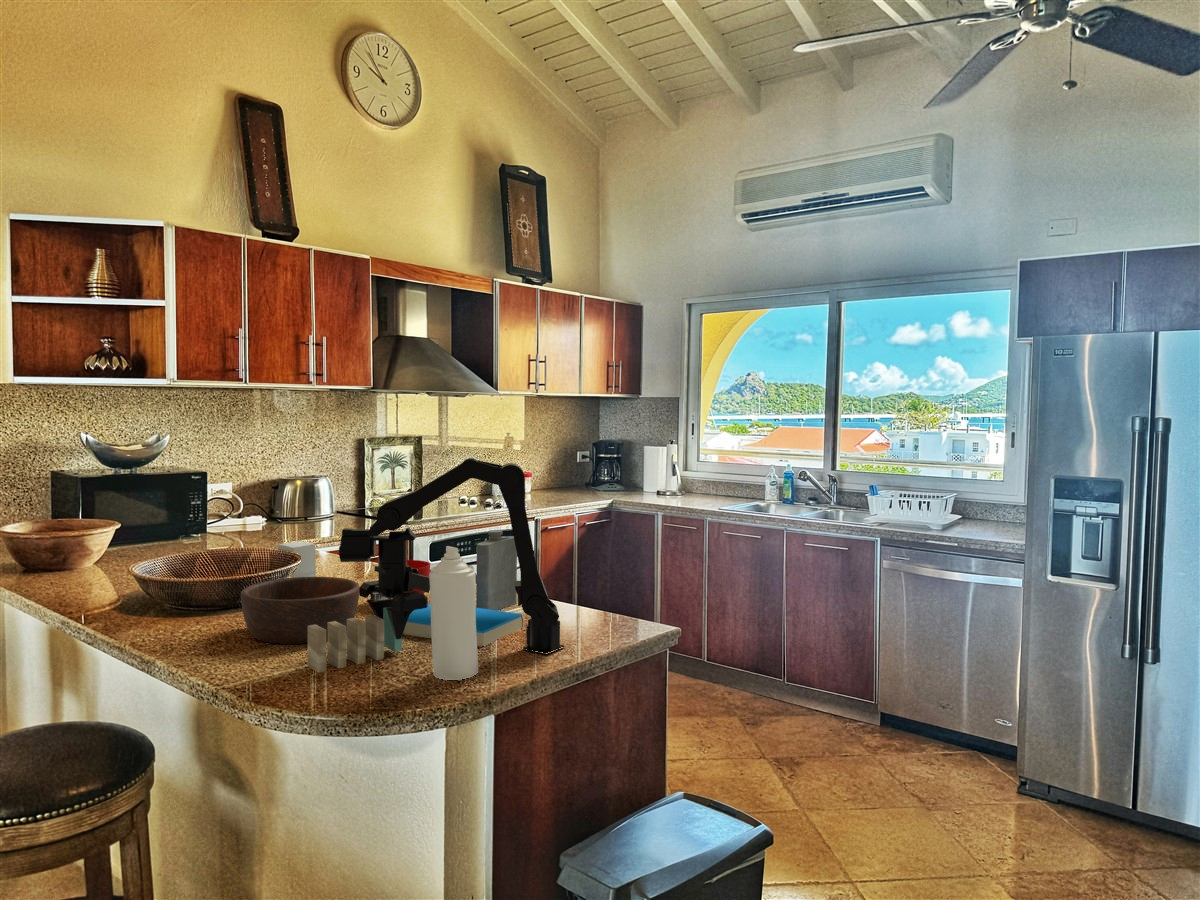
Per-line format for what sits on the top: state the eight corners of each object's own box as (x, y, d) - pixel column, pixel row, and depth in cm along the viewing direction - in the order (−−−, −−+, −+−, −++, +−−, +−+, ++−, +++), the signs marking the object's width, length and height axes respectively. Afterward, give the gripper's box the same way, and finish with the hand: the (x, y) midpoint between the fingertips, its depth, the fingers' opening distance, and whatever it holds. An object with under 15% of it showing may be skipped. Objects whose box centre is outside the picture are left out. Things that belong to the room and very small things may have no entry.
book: (484, 631, 172) (389, 615, 182) (483, 651, 172) (389, 634, 183) (524, 613, 188) (434, 599, 198) (523, 631, 188) (434, 617, 198)
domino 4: (372, 653, 167) (372, 614, 167) (384, 658, 164) (384, 619, 163) (365, 654, 166) (365, 615, 166) (376, 660, 162) (376, 620, 162)
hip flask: (484, 616, 198) (485, 535, 197) (470, 614, 199) (471, 534, 198) (518, 603, 212) (519, 527, 211) (505, 601, 214) (506, 526, 213)
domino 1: (315, 664, 159) (315, 624, 159) (326, 670, 155) (326, 629, 155) (307, 666, 158) (307, 625, 158) (318, 672, 154) (318, 631, 154)
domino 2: (335, 660, 162) (335, 621, 161) (346, 666, 158) (346, 626, 158) (327, 662, 161) (327, 622, 160) (338, 668, 157) (338, 627, 157)
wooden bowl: (226, 651, 168) (225, 601, 167) (257, 619, 192) (257, 577, 192) (351, 647, 171) (351, 599, 171) (366, 617, 196) (366, 575, 196)
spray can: (493, 679, 152) (494, 547, 151) (441, 690, 146) (441, 552, 145) (466, 663, 161) (467, 538, 160) (415, 672, 155) (416, 543, 154)
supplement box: (300, 584, 230) (300, 540, 230) (316, 588, 226) (316, 543, 225) (277, 589, 224) (276, 543, 224) (292, 593, 220) (292, 546, 219)
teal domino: (394, 651, 165) (394, 612, 165) (383, 646, 169) (383, 608, 168) (401, 650, 166) (401, 611, 166) (390, 644, 170) (390, 606, 169)
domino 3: (354, 656, 165) (354, 617, 164) (365, 662, 161) (365, 622, 160) (346, 658, 163) (346, 619, 163) (357, 664, 160) (357, 624, 159)
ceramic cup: (443, 594, 220) (443, 558, 220) (418, 609, 203) (418, 570, 203) (398, 592, 222) (398, 556, 222) (370, 607, 206) (370, 568, 205)
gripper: (450, 563, 165) (450, 639, 166) (405, 551, 179) (405, 620, 180) (401, 570, 158) (401, 649, 158) (358, 556, 171) (358, 629, 172)
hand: (392, 636), depth 167 cm, fingers closed on teal domino, 5 cm apart
